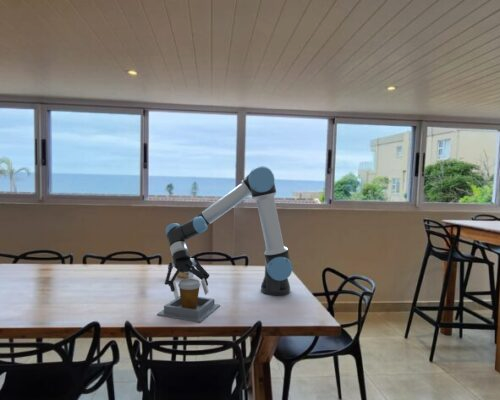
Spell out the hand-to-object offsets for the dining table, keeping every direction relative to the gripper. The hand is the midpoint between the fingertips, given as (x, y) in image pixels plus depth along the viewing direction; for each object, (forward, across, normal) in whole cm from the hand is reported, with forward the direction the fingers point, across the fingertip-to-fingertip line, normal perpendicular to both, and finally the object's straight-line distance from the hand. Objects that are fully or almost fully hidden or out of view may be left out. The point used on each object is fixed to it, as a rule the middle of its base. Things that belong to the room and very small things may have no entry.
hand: (192, 295), depth 153 cm
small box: (-32, -18, -42) cm, 56 cm away
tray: (+4, 0, -7) cm, 8 cm away
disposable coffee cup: (+3, 0, -7) cm, 7 cm away
